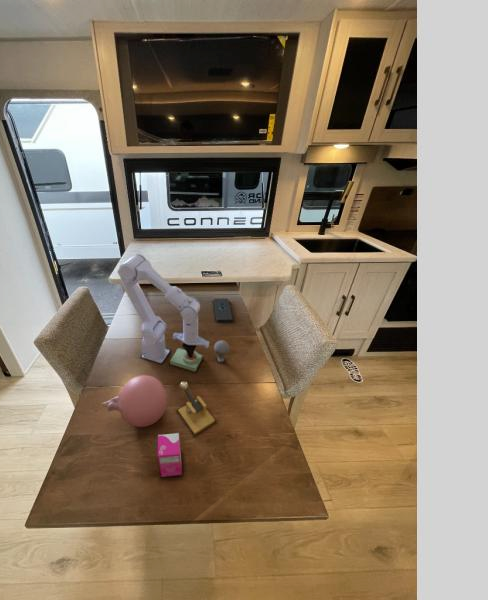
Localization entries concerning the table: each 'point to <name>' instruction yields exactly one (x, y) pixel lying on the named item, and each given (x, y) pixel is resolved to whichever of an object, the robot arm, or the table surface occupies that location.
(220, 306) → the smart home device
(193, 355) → the button
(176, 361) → the button block
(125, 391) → the balloon
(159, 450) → the supplement box
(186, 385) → the lever
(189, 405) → the switch bracket
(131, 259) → the robot arm
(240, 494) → the table surface
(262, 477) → the table surface
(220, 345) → the light bulb
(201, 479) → the table surface
